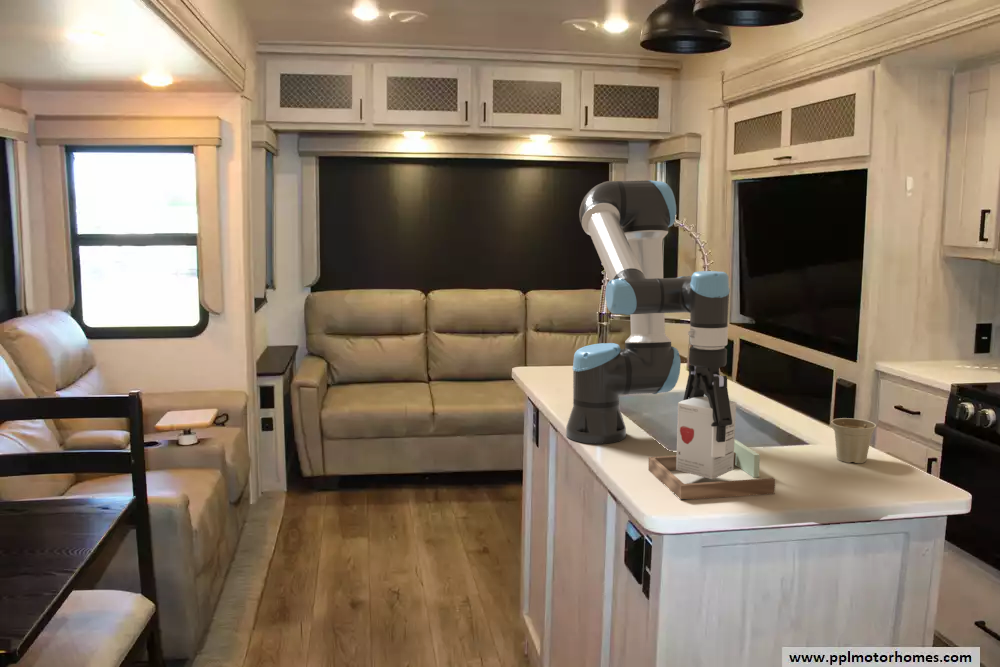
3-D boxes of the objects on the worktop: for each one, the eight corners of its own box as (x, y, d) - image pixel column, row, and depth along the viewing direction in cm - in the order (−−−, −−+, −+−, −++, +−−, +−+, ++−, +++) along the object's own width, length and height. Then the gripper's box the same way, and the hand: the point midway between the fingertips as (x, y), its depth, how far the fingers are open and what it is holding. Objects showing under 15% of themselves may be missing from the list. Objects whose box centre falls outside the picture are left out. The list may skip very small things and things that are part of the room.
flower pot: (836, 451, 191) (838, 415, 189) (878, 458, 185) (881, 422, 183) (823, 460, 184) (825, 424, 182) (867, 468, 178) (869, 431, 176)
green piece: (717, 452, 191) (718, 431, 190) (730, 451, 191) (730, 431, 190) (753, 477, 173) (754, 455, 172) (767, 476, 173) (768, 454, 172)
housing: (648, 470, 178) (648, 457, 178) (733, 464, 181) (733, 451, 181) (680, 500, 160) (681, 485, 159) (774, 493, 163) (775, 479, 162)
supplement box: (674, 470, 170) (675, 401, 168) (697, 461, 176) (699, 394, 174) (712, 480, 164) (714, 408, 161) (734, 470, 170) (737, 401, 168)
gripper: (669, 338, 177) (667, 432, 180) (715, 357, 153) (712, 466, 157) (701, 336, 178) (699, 431, 182) (752, 355, 155) (748, 463, 158)
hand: (705, 447), depth 169 cm, fingers closed on supplement box, 12 cm apart
